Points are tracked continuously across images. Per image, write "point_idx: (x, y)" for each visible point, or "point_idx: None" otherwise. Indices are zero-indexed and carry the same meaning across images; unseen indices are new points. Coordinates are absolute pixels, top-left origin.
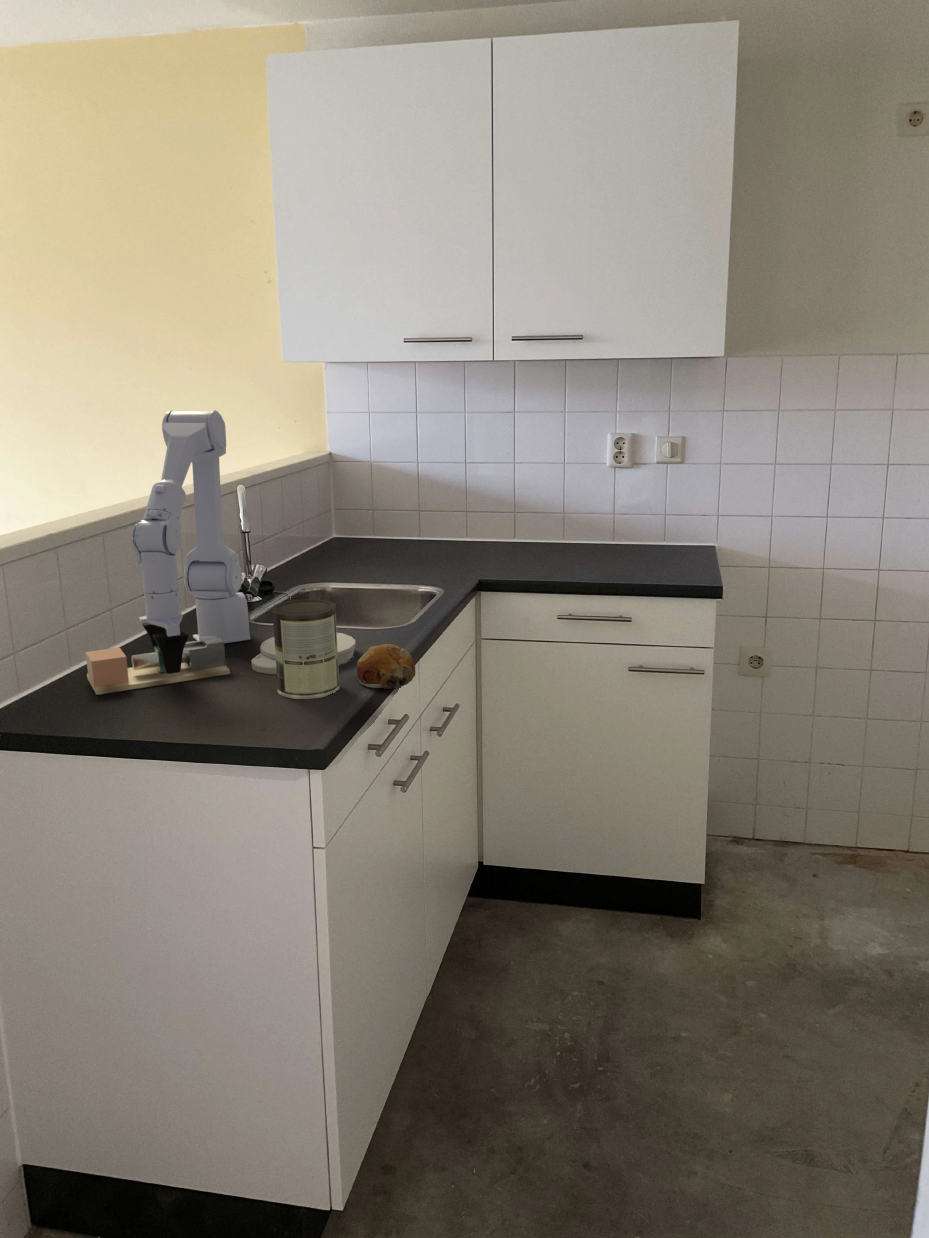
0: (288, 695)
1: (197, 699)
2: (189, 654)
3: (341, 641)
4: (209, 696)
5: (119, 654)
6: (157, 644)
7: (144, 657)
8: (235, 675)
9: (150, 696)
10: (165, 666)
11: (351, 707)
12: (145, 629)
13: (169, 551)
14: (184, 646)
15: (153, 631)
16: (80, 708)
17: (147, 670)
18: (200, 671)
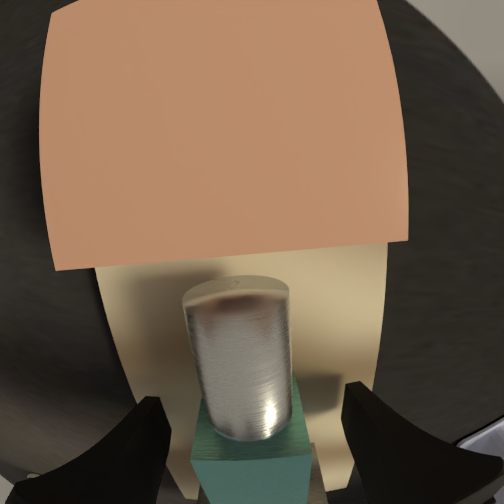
0: (29, 476)
1: (5, 382)
2: (204, 498)
3: None
4: (23, 408)
5: (132, 217)
6: (375, 447)
7: (203, 376)
8: (170, 491)
9: (20, 287)
10: (129, 413)
11: (13, 483)
12: (466, 466)
13: None
14: (307, 501)
15: (406, 500)
16: (2, 68)
17: (295, 330)
18: (189, 463)
